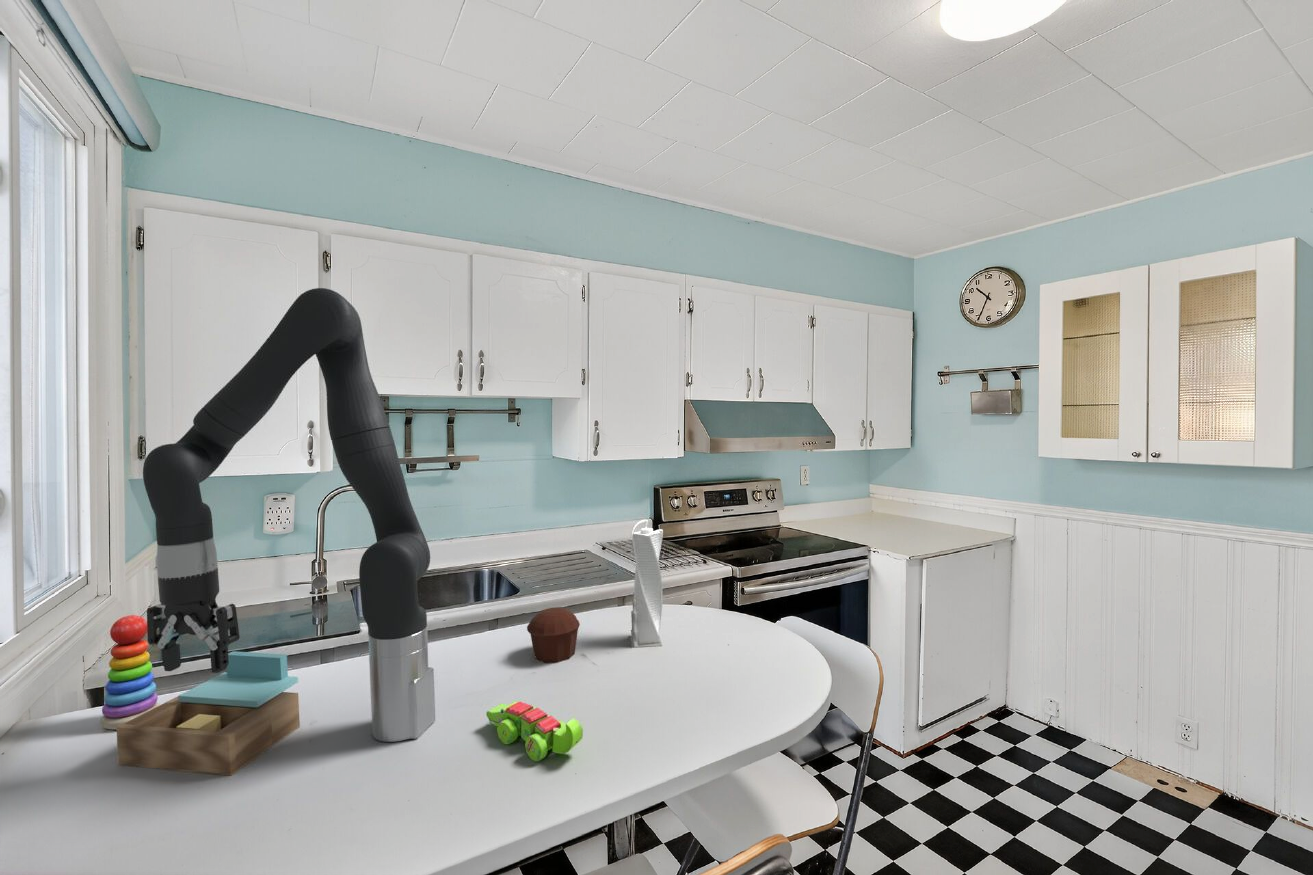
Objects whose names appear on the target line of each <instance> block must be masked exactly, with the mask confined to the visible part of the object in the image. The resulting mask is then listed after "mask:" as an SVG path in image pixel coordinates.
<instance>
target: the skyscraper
mask: <svg viewBox="0 0 1313 875" xmlns="http://www.w3.org/2000/svg"><path fill="white" fill-rule="evenodd" d="M642 523H645V527H643V528H641V529H640V530H639V531H635V530H636V527H637V526H638V525H640V524H642ZM648 523H649V520H648V519H642V520H639V521H638V522H637V523H636V524H634V526H633V529H632V531H631V540H632V546H633V554H634V559H635V572H634V586H633V587H634V592H633V595H632V597H633V599H632V610H631V611H630V612H631V613H630V614H631V630H630V635H629V641H630V647H631V649H636V648H637V649H638V648H652V647H662V646H663V645H662V644H663V643H662V641H661V637H660V629H661V623H662V614H663V613H662V612H663V580H662V573H661V568H660V563H659V561H660V555H661V549H662V543H663V536H664V530H663V528H662V529H661V528H660V529H656V530H654V528H652V527H648Z"/></svg>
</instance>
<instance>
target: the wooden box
mask: <svg viewBox="0 0 1313 875" xmlns="http://www.w3.org/2000/svg"><path fill="white" fill-rule="evenodd" d="M178 696H179V695H177V696H175V697H173V698H171V699H170V700H168V701H166V702H163V703H162V704H159V706H158V707H156V708H154V709H152V710H150V711H148V712H146V713H144V714H142V715H140V716H138V717H136V718H134V719H132V720H130V721H128V722H126V723H124V724H122V725H120V726H118V727H116V729H115V730H116V741H117V742H116V744H117V759H118V765H119V766H127V767H136V766H138V767H137V768H149V769H156V768H160V769H159V770H168V771H179V772H190V773H198V774H199V773H200V774H209V775H221V776H229V777H230V776H232V775H235V773H237V772H238V771H240V770H241V769H242V768H244V767H245V766H247V765H248V764H249V763H251V762H252V761H254V760H255V759H257V758H258V757H259V756H261V755H262V754H264V753H265V752H266V751H268V750H269V749H271V748H272V747H273V746H275V745H276V744H277V743H279V742H281V741H282V740H283V739H285V738H286V737H288V736H290V735H291V734H292V733H293V732H295V731H296V730H298V729H299V728H300V727H301V726H300V724H301V723H300V707H299V706H300V703H299V701H300V700H299V693H298V692H290V691H289V692H288V691H287V692H286V691H283V692H282V693H280V694H279V695H277V696H275V697H274V698H272V699H270V700H269V701H267V702H265V703H264V704H262V705H260V706H259V707H244V706H230V705H217V704H204V703H190V702H178ZM198 714H204V715H217V716H220V719H221V730H220V731H218V732H213V731H200V730H188V729H176V727H177V726H179V725H181V724H182V723H184V722H186V721H188V720H189V719H191V718H193V717H195V716H197V715H198ZM139 766H140V767H139Z"/></svg>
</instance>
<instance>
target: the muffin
mask: <svg viewBox="0 0 1313 875" xmlns="http://www.w3.org/2000/svg"><path fill="white" fill-rule="evenodd" d="M580 625H581V624H580V621H579V620H578V618H577V616H576V615H575V614H574V613H573V612H572V611H570V610H568V609H566V608H563V607H557V606H555V607H548V608H546V609H542V610H541V611H539V612H538V613H537V614H536V615H534V616H533V617H532V618H531V620H530V622H529V623H528V625H527V626H526V630H527V633H529V634H530V640H531V645H532V649H533V650H532V651H533V655H534V658H535V660H536V661H538V662H542V663H543V664H549V663H553V664H554V663H555V664H556V663H557V664H558V663H560V662H563V661H568V660H570V659H571V658H572V657H573V656H574V655H575V654H576V649H577V648H576V647H577V640H578V632H579V627H580Z"/></svg>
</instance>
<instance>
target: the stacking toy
mask: <svg viewBox="0 0 1313 875" xmlns="http://www.w3.org/2000/svg"><path fill="white" fill-rule="evenodd" d="M109 635H110V638H111V639H112V641H113V642H114V643H116V644H115V645H114V646H112V647H111V648H110V655H111V656H112V657H111V659H110V660H109V662H108V665H109V666H108V667H109V668H110V670H109V671H108V672H107V678H108V681H107V683H106V684H105V691H106V693H105V695H104V697H103V700H104V704H103V706H102V709H101V713H102V715H103V716H102V717H101V720H100V726H102V727H103V728H105V729H107V730H116V727H118V726H120V725H122V724H124V723H126V722H128V721H130V720H132V719H134V718H136V717H138V716H140V715H142V714H144V713H146V712H148V711H150V710H152V709H154V708H156V707H158V706H160V704H159V703H158V702H157V701H158V698H159V696H158V694H157V693H156V690H157V684H156V682H154V679H155V678H154V676H155V675H154V673H153V672H152V669H153V664H152V662H151V661H150V656H151V655H150V653H149V652H148V651H147V650H148V648H149V643H148V640H145V639H144V637H146V635H147V619H145V618H144V617H142V616H140V615H135V614H133V615H126V616H122V617H121V618H119V619H117V620H116V621H115V622H113V624H112V625H111V628H110V631H109Z"/></svg>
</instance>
